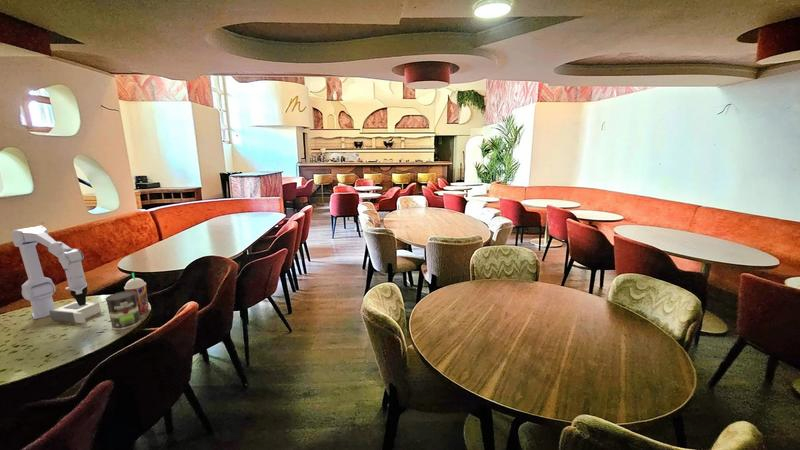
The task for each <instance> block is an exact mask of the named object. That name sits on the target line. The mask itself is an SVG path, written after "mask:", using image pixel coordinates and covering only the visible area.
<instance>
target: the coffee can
mask: <svg viewBox="0 0 800 450" xmlns="http://www.w3.org/2000/svg"><path fill="white" fill-rule="evenodd" d="M105 301H106V306H107V308H108V309H107V310H108V313H109V318H110V322H111V328H112V330H117V331H119V330H126V329H129V328H133V327H135V326H137V325H138V324H140V323H141V321H142V319H141V315H140V314H141V313H140V314H139V309H138V304H137V299H136V292H135V291H125V290H124V291H119V292H115V293H112V294H110V295H107V296H106V297H105Z"/></svg>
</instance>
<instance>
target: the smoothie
mask: <svg viewBox="0 0 800 450" xmlns="http://www.w3.org/2000/svg"><path fill="white" fill-rule="evenodd" d="M131 276H132V278H131V279H129V280H128V281H127V282H126V283H125V286H123V289H124V291H135V292H136V299H137V304H138V309H139V314H143V313H146V312H148V310H149V309H148V308H149V307H150V305H149V299H148V292H147V291H148V290H147V282H146V281H144V279H142V278H140V277H135V272H131Z"/></svg>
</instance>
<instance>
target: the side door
mask: <svg viewBox="0 0 800 450" xmlns="http://www.w3.org/2000/svg"><path fill="white" fill-rule="evenodd" d="M49 312H50V315H49V316H50V319H51V321H55V322H66V323H76V324H78V323H79V324H86V323H87V322H86V319H85V317H84V313H79V312H68V311H57V310H50V311H49Z"/></svg>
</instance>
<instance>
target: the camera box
mask: <svg viewBox="0 0 800 450" xmlns="http://www.w3.org/2000/svg"><path fill="white" fill-rule="evenodd" d="M54 310H57V311H68V312H79V313H84V317H85V320H86V319H89V318H91V317H93V316H95V315H98V314H100V313H101V312H102V311H101V306H100V303H99V302H95V301H86V305H82V306H79V305H78V303H77V301H76V300H74V301H71V302H69V303H67V304H64V305H62V306H59V307H55V309H54Z"/></svg>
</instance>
